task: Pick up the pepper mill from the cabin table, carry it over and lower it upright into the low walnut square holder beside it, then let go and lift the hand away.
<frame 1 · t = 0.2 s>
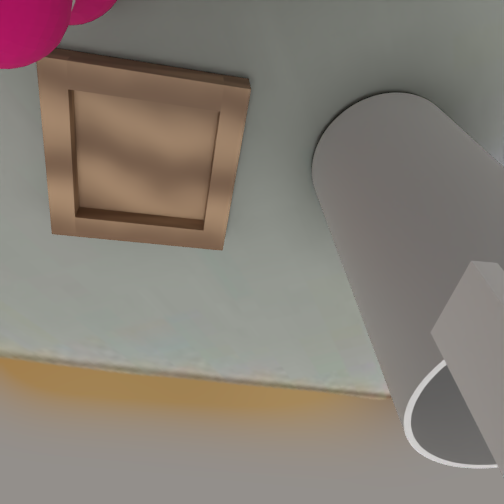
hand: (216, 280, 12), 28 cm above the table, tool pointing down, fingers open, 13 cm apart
walnut holder: (146, 154, 40), on the table
cylinder vase: (378, 158, 42), on the table
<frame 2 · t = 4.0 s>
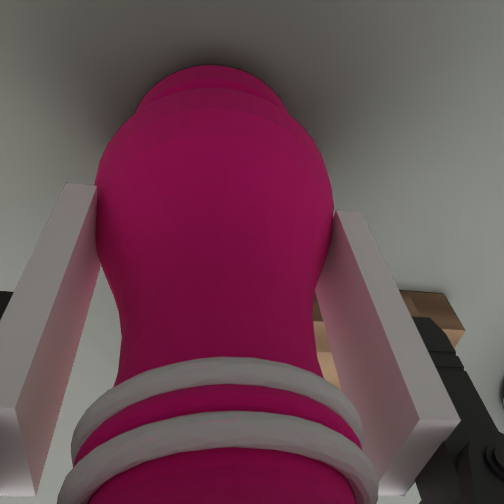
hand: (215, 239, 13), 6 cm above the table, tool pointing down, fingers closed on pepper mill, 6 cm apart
walnut holder: (272, 380, 27), on the table
pepper mill: (213, 145, 18), on the table, touching gripper
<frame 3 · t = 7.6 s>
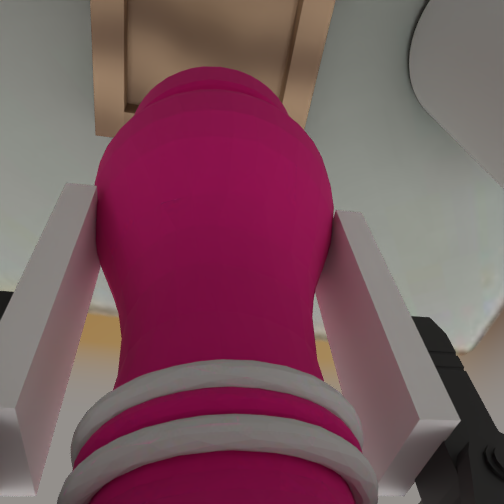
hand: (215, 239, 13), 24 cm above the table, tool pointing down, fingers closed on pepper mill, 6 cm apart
walnut holder: (210, 32, 32), on the table
cylinder vase: (489, 40, 34), on the table
pepper mill: (213, 146, 18), point 18 cm above the table, touching gripper
when the fingers open (8 cm above the table, at t = 11.3 s): pepper mill drops 1 cm, resting on walnut holder.
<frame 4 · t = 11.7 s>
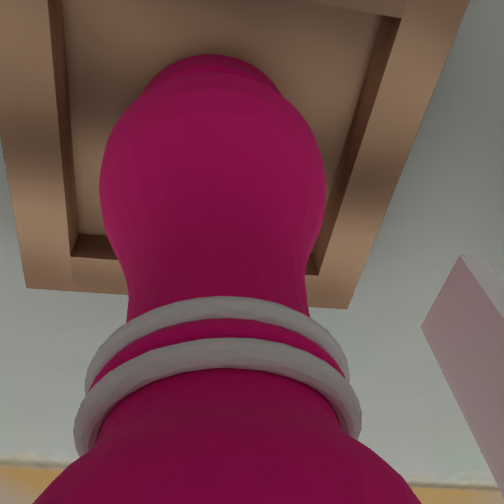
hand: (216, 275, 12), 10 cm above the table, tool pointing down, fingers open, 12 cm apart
walnut holder: (212, 127, 20), on the table
pepper mill: (213, 132, 19), point 1 cm above the table, touching walnut holder
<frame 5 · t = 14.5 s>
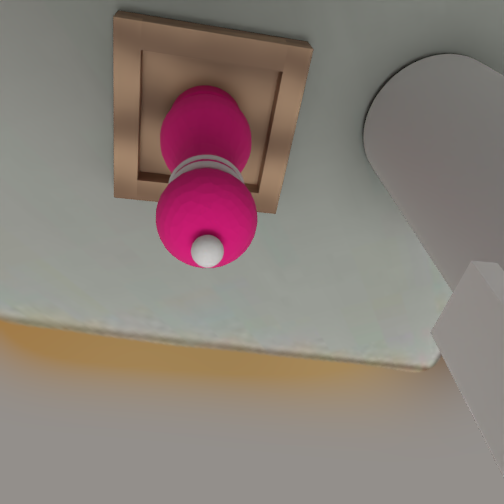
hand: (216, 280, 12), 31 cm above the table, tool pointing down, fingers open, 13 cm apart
walnut holder: (205, 118, 41), on the table
cylinder vase: (427, 122, 43), on the table
pepper mill: (205, 120, 41), point 1 cm above the table, touching walnut holder
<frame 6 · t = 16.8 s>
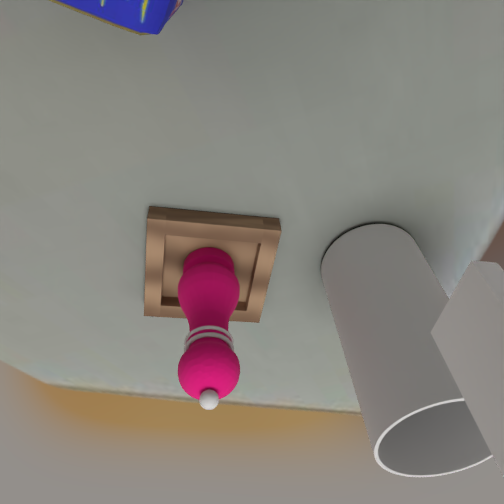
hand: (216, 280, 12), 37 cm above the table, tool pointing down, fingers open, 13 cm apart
walnut holder: (208, 262, 59), on the table
cylinder vase: (367, 260, 61), on the table
pepper mill: (208, 265, 58), point 1 cm above the table, touching walnut holder
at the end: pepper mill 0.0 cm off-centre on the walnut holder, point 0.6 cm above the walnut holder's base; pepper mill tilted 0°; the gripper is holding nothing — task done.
